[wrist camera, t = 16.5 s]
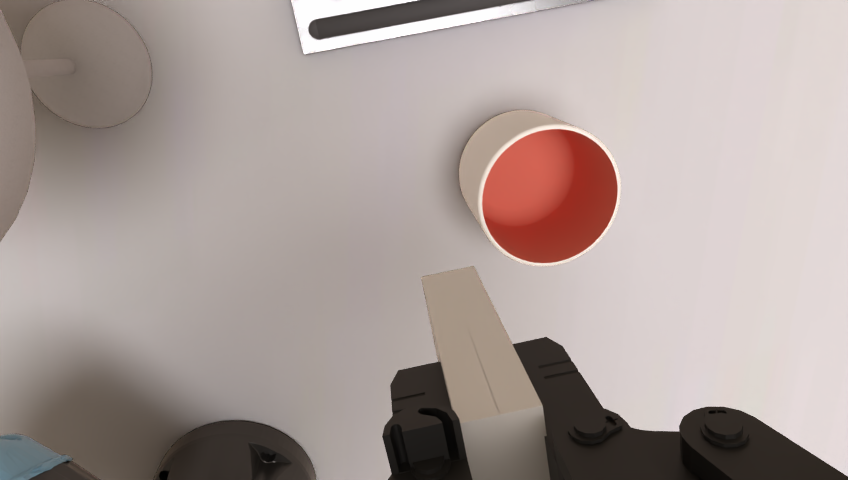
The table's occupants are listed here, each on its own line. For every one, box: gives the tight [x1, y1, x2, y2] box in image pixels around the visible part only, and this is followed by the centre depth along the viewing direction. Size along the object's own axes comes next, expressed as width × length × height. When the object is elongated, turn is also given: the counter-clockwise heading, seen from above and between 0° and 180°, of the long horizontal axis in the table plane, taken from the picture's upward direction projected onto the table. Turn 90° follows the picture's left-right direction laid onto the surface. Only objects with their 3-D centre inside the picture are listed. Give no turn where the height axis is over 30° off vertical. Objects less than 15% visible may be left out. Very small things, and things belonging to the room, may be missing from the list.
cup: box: [459, 110, 621, 266], centre depth 43 cm, size 10×10×10 cm
